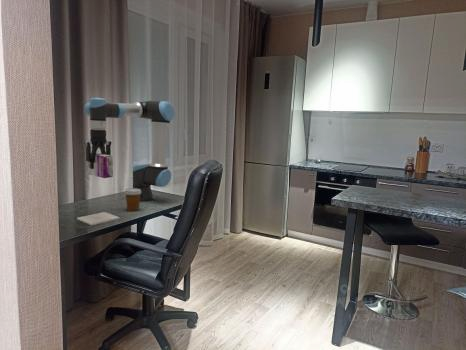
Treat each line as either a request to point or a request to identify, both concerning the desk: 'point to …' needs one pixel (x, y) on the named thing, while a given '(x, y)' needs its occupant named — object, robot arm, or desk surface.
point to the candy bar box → (102, 166)
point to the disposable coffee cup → (133, 198)
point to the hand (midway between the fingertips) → (98, 174)
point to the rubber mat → (98, 218)
